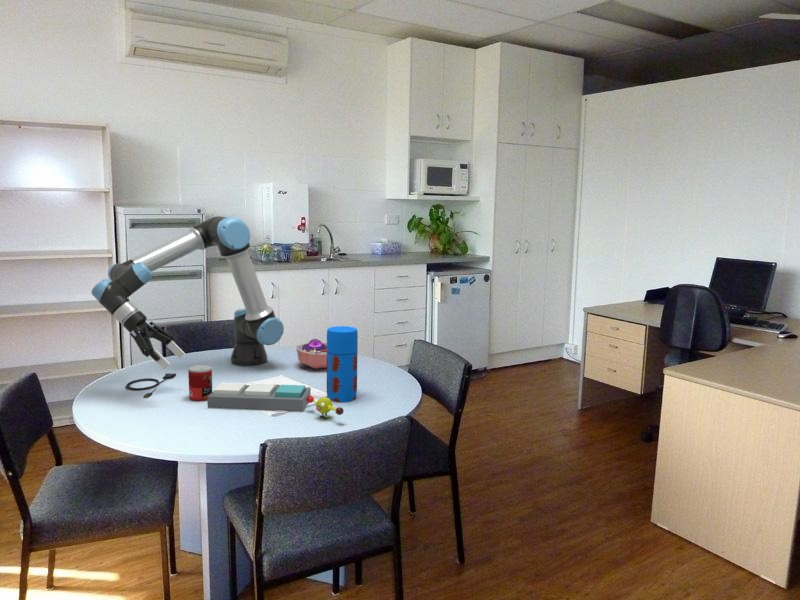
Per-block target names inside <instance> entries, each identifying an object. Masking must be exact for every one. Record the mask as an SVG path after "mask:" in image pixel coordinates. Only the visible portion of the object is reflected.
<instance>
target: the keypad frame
mask: <svg viewBox="0 0 800 600" xmlns="http://www.w3.org/2000/svg"><path fill="white" fill-rule="evenodd" d="M250 385H251V384H246V389H247V388H248V387H249V386H250ZM280 386H281V385H277V386H276V390H275V391H274V392H273V394H272V395H271V396H245V390H246V389H245V390H244V391H243V392H242V393H241V394H240V395H215V394H214V390H212V393H211V394H210V395H208V396H207V400H206V401H207V402H206V403H207V409H223V410H224V409H226V410H228V409H229V410H251V411H253V410H255V411H276V410H286V411H285V412H304V410H305V409H306V407H307V405H308V404H309V402H307V400H306V398H307V397H308V396H312V394H311V390H312V389H311V387H308V386H305V392H304V394H303V396H302V397H301V398H298V397H275V392H276V391H277V389H278V388H279V387H280Z"/></svg>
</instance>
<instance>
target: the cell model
mask: <svg viewBox="0 0 800 600" xmlns="http://www.w3.org/2000/svg"><path fill="white" fill-rule="evenodd" d="M295 348H296V355H297V360H298V362H299V363H300V364H302V365H305V366H308V367H310V368H312V369H317V370H318V369H325V368H326V369H327V342H326V343H324V342H322V341H321V340H319V339H317V338H312V339H311V340H309V342H307V343H304V344H299V345H296V347H295Z"/></svg>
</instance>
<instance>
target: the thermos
mask: <svg viewBox="0 0 800 600" xmlns="http://www.w3.org/2000/svg"><path fill="white" fill-rule="evenodd" d="M358 337H359V335H358V328H357V327H354V326H345V325H344V326H343V325H341V326H340V325H337V326H330V327H328V328H327V332H326V344H327V367H326V397H327V398H329V399H330V400H331V402H335V403H348V402H352V401H355V400H357V395H358V394H357V393H358V392H357V391H358V350H359V349H358V344H359V343H358V339H359V338H358Z"/></svg>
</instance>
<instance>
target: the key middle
mask: <svg viewBox="0 0 800 600" xmlns="http://www.w3.org/2000/svg"><path fill="white" fill-rule="evenodd" d="M249 385H250V386H249V387H248V388H247V389H246V390H245V396H271V395H272V394H273V392H274V391H275V390H276V385H277V384H276V383H275V384H272V383H251V384H249Z"/></svg>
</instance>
